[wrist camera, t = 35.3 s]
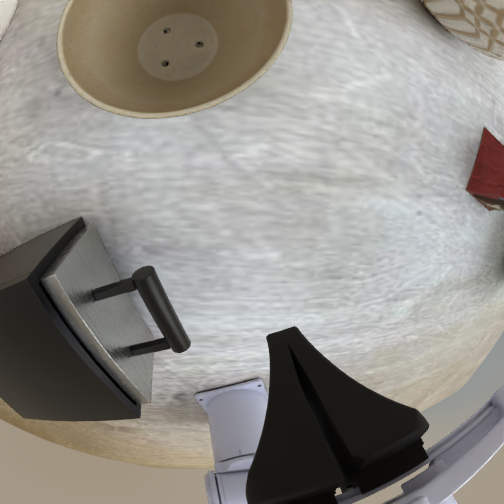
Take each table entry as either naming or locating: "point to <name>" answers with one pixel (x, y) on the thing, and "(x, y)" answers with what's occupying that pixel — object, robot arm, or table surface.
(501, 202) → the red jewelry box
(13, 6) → the mug
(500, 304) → the table surface
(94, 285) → the drawer
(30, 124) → the table surface
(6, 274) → the black box
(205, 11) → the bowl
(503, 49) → the vase
